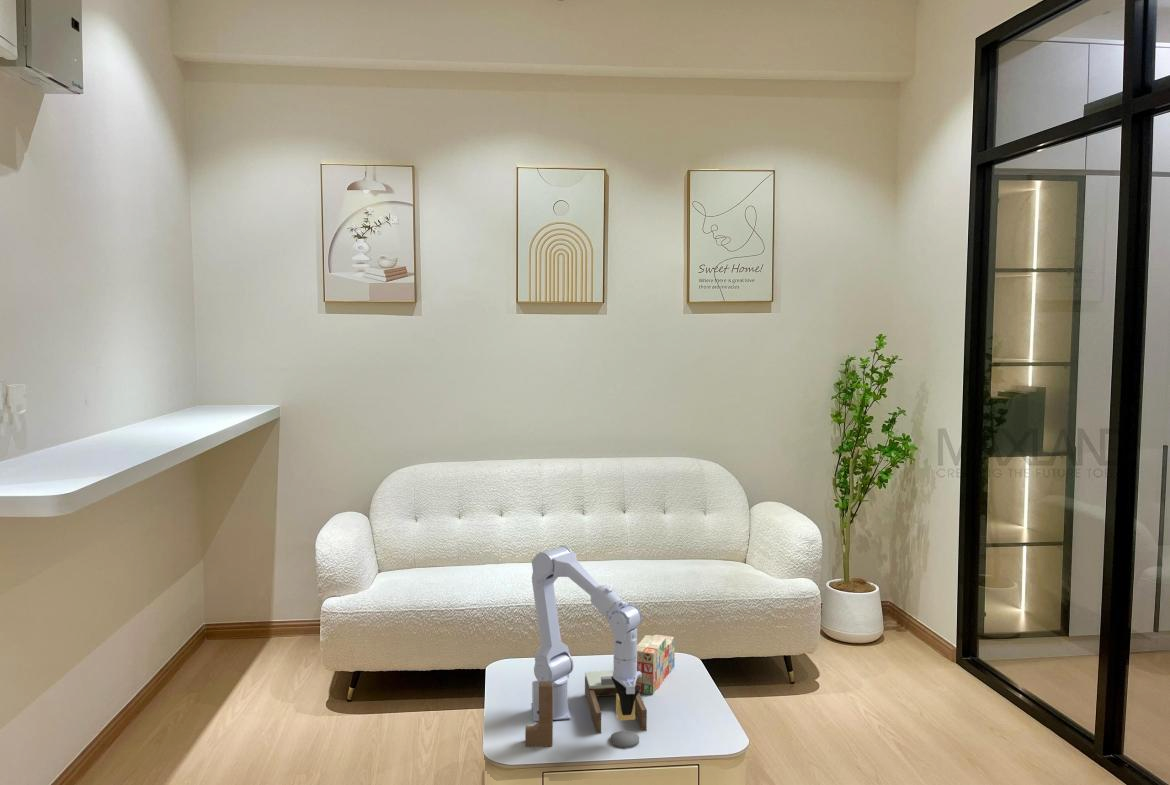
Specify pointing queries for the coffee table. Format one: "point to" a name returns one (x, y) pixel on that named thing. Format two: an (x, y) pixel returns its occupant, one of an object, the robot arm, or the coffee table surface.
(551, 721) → the wooden block
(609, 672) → the lid
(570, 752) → the coffee table surface
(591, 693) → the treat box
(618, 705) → the ochre block
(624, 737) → the coaster
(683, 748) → the coffee table surface
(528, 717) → the coffee table surface
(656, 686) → the stack of blocks
